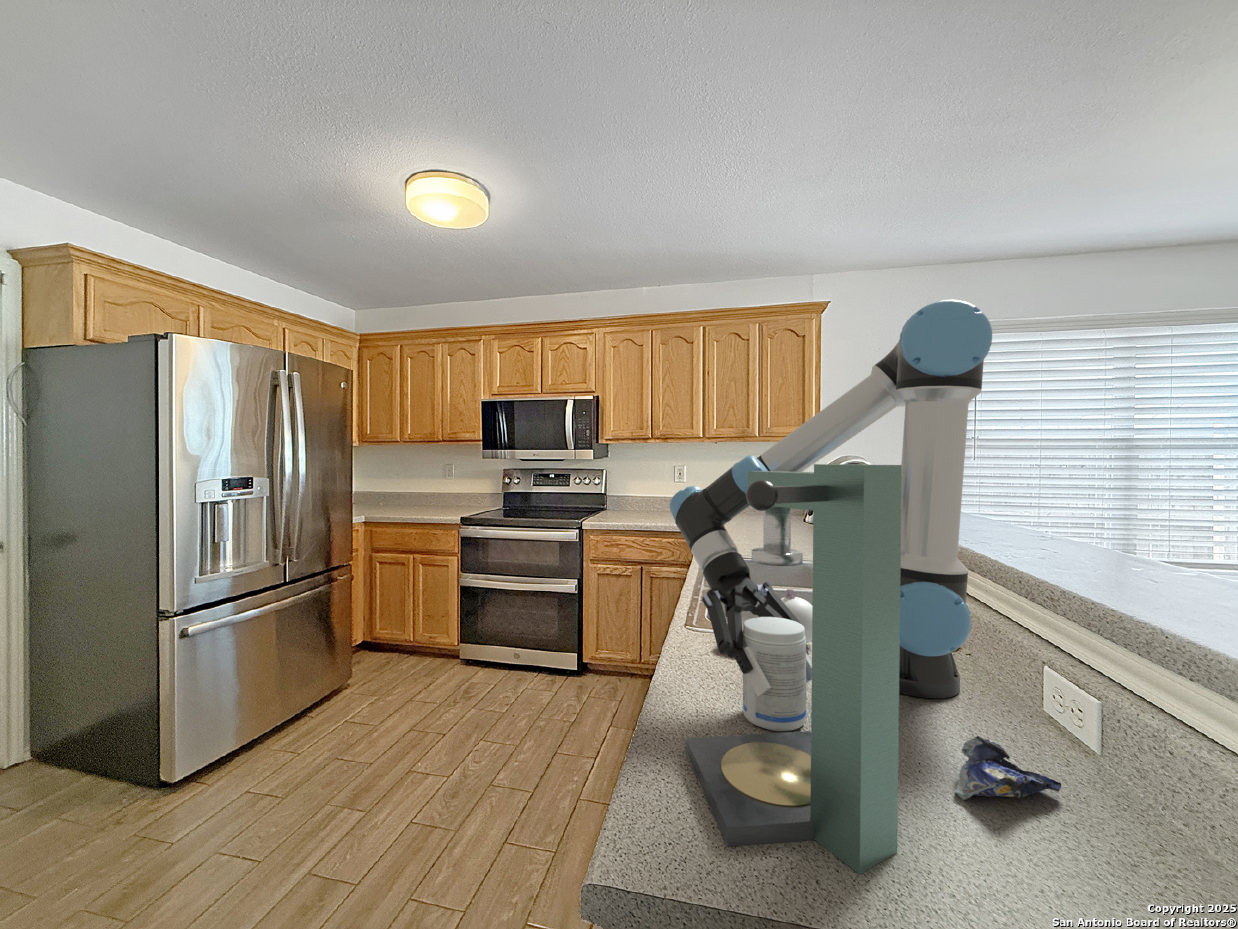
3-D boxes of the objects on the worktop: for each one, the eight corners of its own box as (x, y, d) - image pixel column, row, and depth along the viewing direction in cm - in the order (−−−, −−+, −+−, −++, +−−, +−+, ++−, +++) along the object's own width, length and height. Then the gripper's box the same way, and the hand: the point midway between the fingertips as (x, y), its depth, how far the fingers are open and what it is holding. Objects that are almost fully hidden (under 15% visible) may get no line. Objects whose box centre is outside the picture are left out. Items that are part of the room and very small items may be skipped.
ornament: (760, 643, 117) (760, 589, 117) (783, 633, 124) (783, 581, 124) (804, 656, 110) (804, 598, 110) (826, 644, 117) (826, 589, 117)
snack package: (920, 760, 73) (970, 816, 61) (929, 712, 73) (980, 759, 61) (1015, 781, 71) (1085, 843, 59) (1024, 733, 71) (1095, 784, 60)
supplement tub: (819, 723, 82) (820, 627, 82) (777, 741, 77) (778, 639, 77) (769, 699, 90) (770, 612, 90) (729, 713, 85) (729, 621, 85)
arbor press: (809, 745, 76) (812, 463, 75) (921, 871, 53) (926, 465, 52) (685, 752, 74) (687, 462, 73) (744, 887, 50) (748, 464, 50)
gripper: (756, 568, 102) (824, 681, 88) (660, 581, 91) (720, 712, 77) (777, 545, 97) (852, 660, 84) (678, 555, 86) (746, 689, 73)
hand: (789, 685), depth 81 cm, fingers closed on supplement tub, 9 cm apart
